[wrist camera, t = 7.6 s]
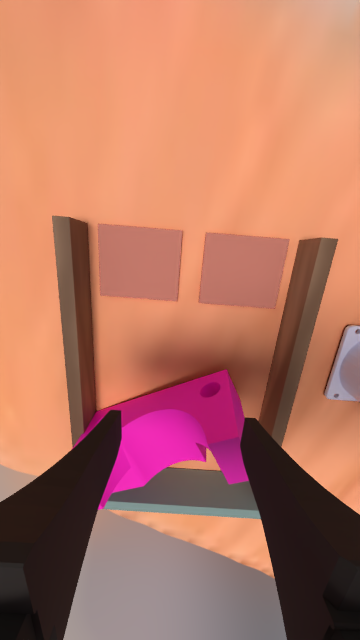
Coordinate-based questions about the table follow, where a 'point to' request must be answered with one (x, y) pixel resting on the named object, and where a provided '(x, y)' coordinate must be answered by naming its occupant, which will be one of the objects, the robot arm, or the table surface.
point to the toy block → (177, 431)
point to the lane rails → (288, 351)
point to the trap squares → (164, 263)
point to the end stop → (188, 495)
